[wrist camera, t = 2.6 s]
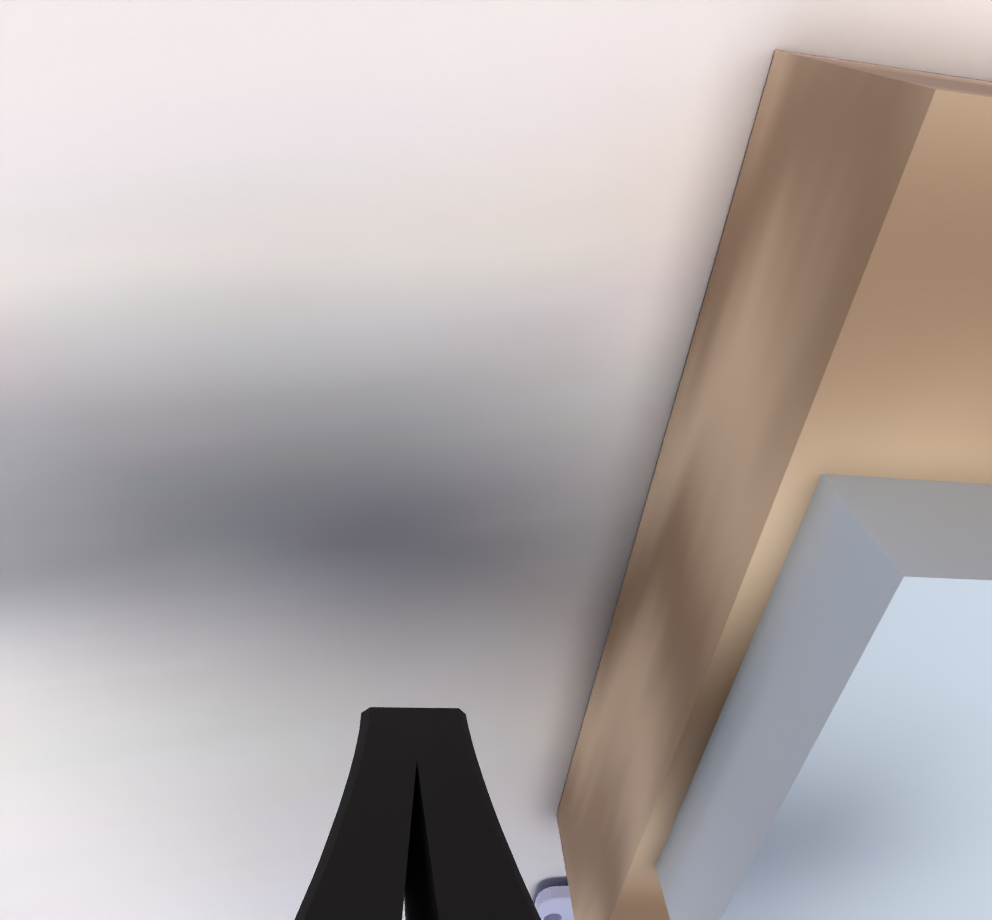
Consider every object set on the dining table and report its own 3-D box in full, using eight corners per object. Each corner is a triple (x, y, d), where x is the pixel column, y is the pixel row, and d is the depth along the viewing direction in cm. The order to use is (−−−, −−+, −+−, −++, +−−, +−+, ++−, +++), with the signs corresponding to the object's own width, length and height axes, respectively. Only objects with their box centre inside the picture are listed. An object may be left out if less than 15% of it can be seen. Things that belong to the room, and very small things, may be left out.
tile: (940, 862, 16) (1003, 969, 14) (655, 866, 15) (687, 982, 13) (1215, 499, 11) (1361, 596, 9) (822, 473, 10) (904, 576, 8)
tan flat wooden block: (965, 811, 22) (1064, 963, 19) (556, 815, 20) (585, 982, 17) (1459, 151, 13) (1833, 220, 9) (775, 49, 11) (936, 89, 8)
